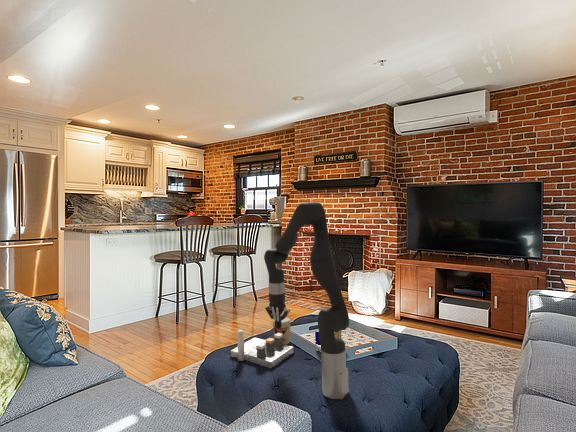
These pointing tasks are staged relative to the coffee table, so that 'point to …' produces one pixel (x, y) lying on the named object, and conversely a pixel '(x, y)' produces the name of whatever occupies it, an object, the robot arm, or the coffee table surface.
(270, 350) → the toggle
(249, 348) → the breaker panel
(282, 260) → the robot arm
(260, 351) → the toggle
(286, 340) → the coffee cup
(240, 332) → the post
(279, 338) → the toggle
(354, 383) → the coffee table surface
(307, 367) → the coffee table surface
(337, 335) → the puzzle cube
